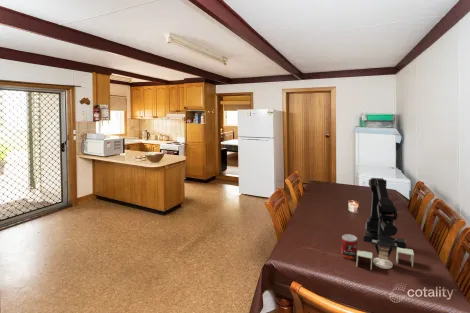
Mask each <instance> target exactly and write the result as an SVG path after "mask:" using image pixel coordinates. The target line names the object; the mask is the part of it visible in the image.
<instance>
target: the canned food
mask: <svg viewBox="0 0 470 313" xmlns="http://www.w3.org/2000/svg"><path fill="white" fill-rule="evenodd" d="M357 250H358V237H357V236H355V235H353V234H349V233H348V234H346V233H345V234H343V235H342V236H341V254H340V255H341V257H342V258H344V259H347V260H355V259H357Z"/></svg>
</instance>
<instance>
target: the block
mask: <svg viewBox="0 0 470 313" xmlns="http://www.w3.org/2000/svg"><path fill="white" fill-rule="evenodd" d="M388 249H389V248H384V247H379V255H378V258H379V259H384V260H389V257H388Z"/></svg>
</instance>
